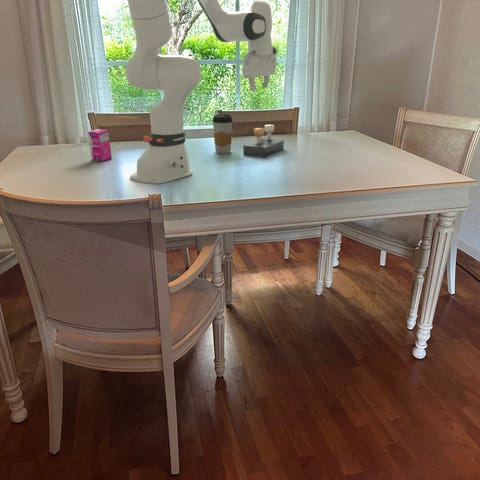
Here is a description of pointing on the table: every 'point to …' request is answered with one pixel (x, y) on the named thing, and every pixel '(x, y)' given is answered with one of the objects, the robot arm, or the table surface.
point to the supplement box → (99, 145)
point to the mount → (263, 148)
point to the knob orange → (259, 134)
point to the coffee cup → (222, 133)
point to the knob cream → (269, 131)
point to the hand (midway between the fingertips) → (259, 88)
